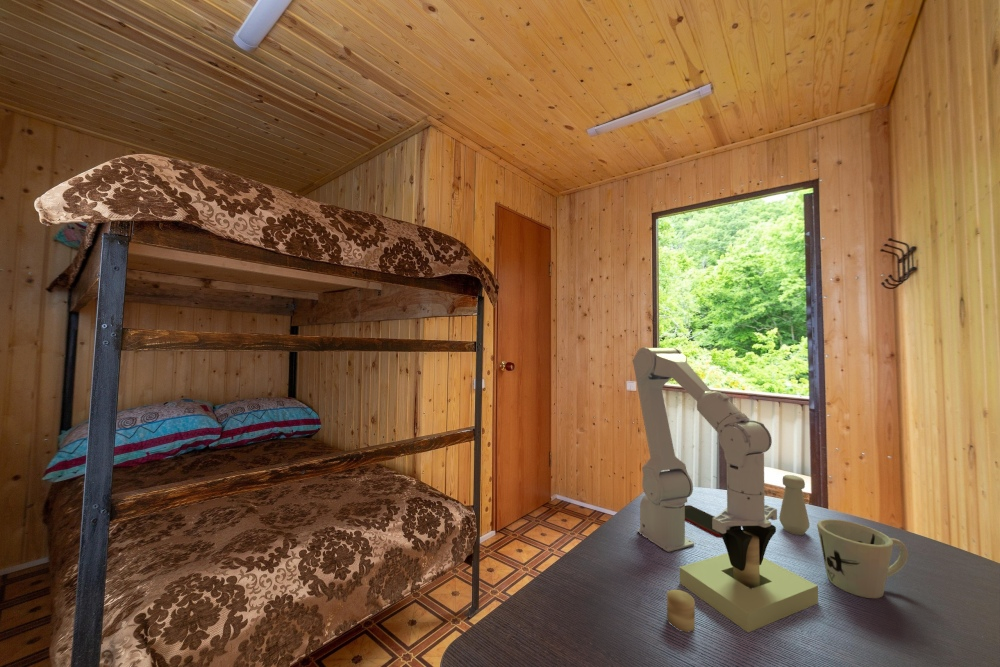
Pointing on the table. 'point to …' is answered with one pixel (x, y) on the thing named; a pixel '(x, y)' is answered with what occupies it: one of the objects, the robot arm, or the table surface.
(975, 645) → the table surface
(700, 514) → the cell phone
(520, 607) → the table surface
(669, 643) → the table surface
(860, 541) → the mug
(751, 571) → the tall peg
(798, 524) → the salt shaker
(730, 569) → the hole board
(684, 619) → the short peg
